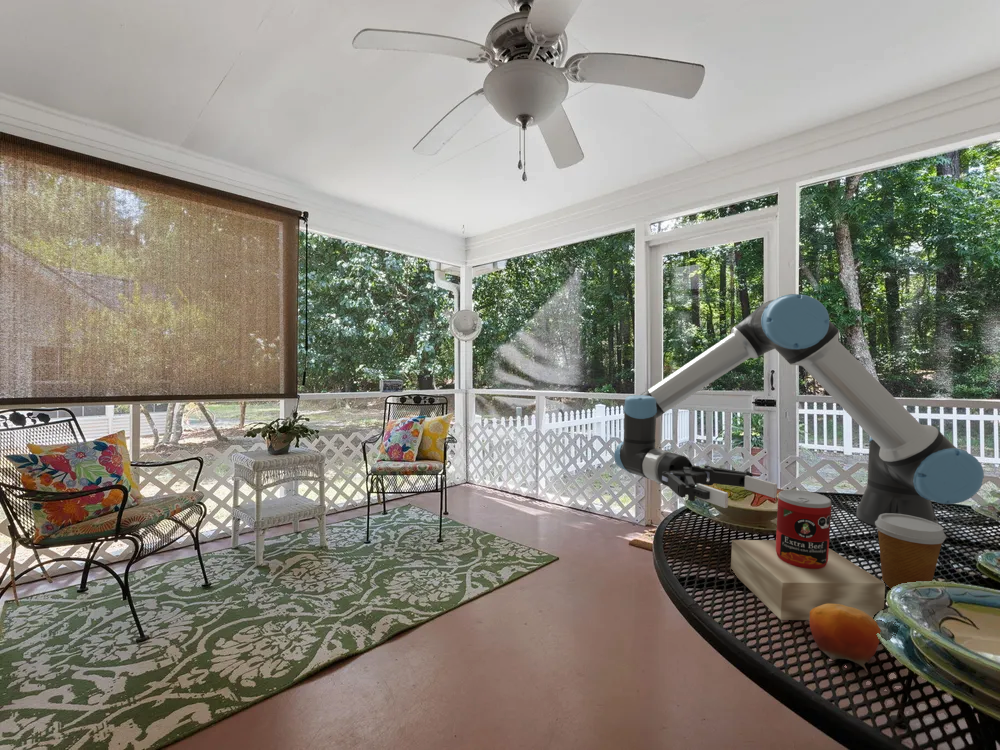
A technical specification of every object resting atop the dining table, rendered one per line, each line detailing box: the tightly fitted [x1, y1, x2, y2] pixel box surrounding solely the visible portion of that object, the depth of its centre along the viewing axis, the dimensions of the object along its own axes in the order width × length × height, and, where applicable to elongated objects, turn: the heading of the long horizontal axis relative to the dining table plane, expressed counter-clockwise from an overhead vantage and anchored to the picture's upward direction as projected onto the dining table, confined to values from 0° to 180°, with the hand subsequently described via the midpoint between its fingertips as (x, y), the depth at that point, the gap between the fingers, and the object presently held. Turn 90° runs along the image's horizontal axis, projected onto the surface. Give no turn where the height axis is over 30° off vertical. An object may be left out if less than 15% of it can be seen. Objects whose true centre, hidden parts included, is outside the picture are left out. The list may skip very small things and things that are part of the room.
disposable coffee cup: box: [875, 513, 947, 589], centre depth 84 cm, size 10×10×12 cm
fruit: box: [809, 603, 882, 674], centre depth 66 cm, size 8×8×8 cm
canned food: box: [775, 489, 832, 569], centre depth 82 cm, size 8×8×11 cm
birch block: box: [730, 539, 886, 621], centre depth 82 cm, size 16×16×6 cm
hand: (752, 495), depth 90 cm, fingers open, 13 cm apart
